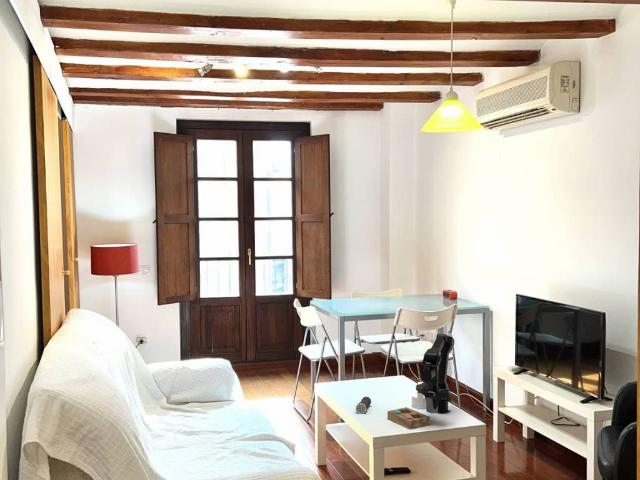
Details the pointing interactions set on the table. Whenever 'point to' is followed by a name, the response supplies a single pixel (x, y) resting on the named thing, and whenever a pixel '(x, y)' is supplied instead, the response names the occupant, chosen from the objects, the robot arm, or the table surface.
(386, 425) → the table surface
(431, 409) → the grey upright block
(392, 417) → the socket board
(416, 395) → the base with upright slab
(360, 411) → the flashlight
